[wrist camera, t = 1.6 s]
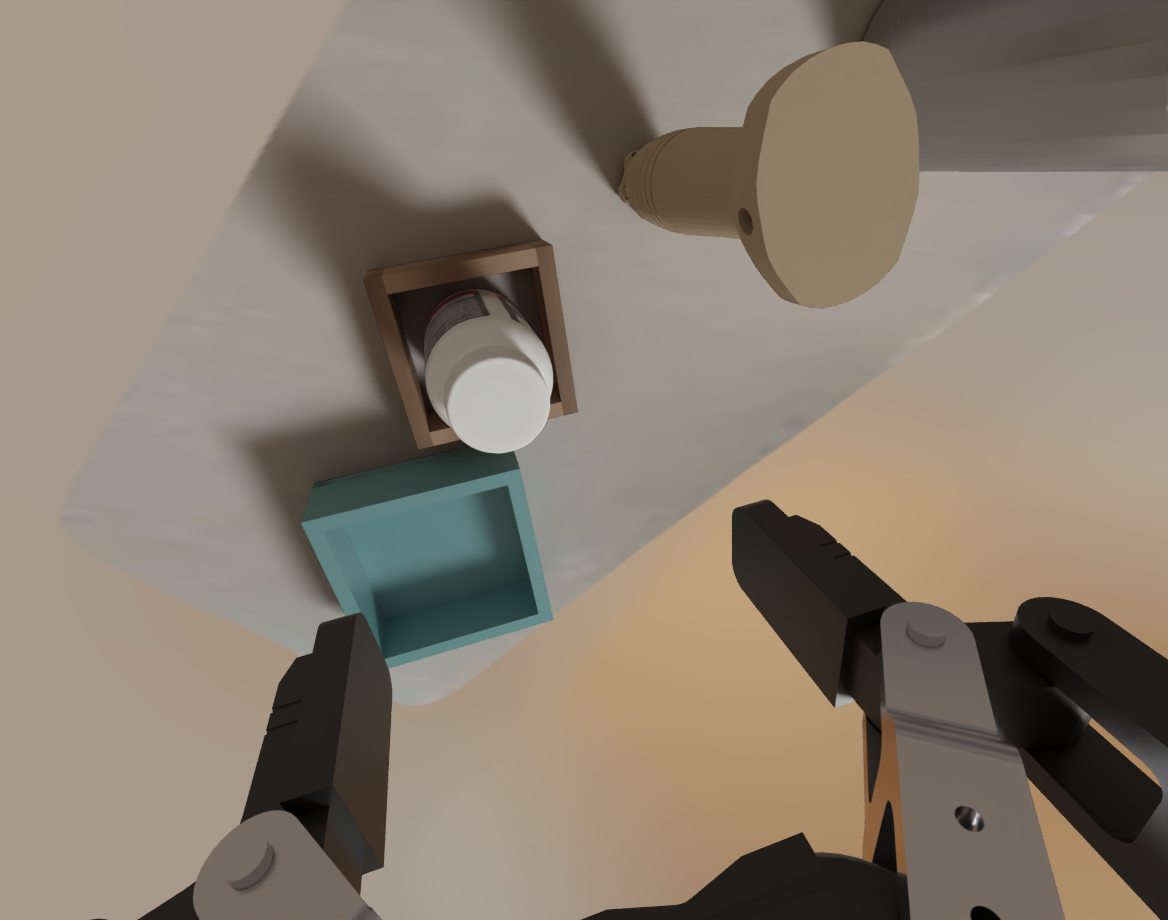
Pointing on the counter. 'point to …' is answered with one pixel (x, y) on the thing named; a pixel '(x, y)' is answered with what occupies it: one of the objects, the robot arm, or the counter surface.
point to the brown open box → (459, 268)
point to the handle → (797, 176)
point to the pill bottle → (486, 371)
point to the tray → (431, 551)
